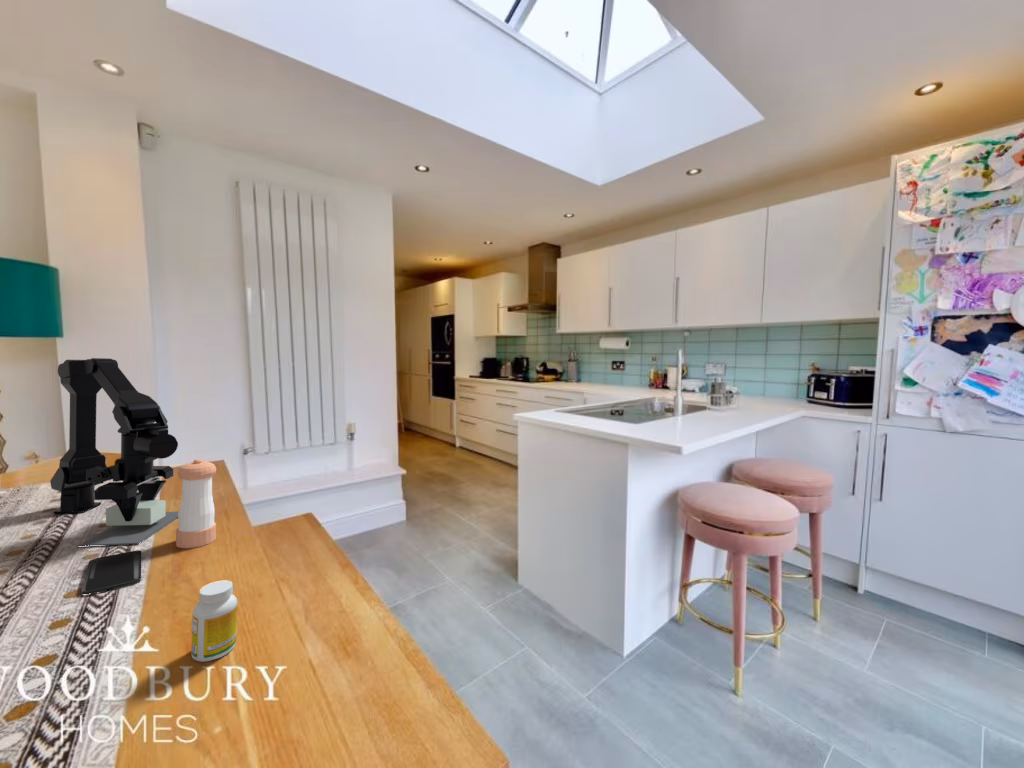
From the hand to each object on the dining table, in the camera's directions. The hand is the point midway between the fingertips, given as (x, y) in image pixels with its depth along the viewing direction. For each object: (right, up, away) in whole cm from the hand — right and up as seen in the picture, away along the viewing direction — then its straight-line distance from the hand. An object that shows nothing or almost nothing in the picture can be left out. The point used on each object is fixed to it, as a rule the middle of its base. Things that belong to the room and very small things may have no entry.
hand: (136, 516), depth 98 cm
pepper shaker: (+18, -4, -5) cm, 19 cm away
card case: (0, -1, 0) cm, 1 cm away
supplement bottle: (+47, -8, -38) cm, 60 cm away
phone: (+13, -5, -19) cm, 24 cm away
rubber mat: (0, -3, 0) cm, 3 cm away
